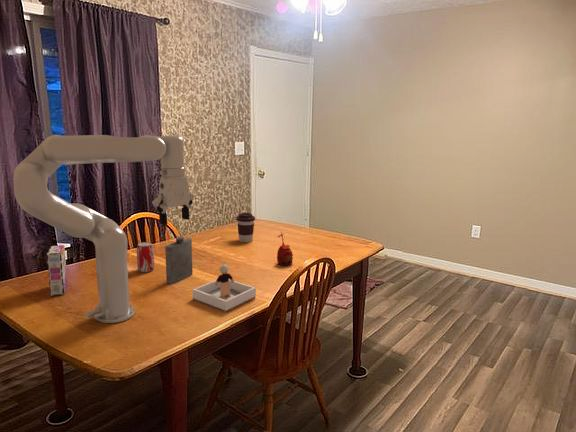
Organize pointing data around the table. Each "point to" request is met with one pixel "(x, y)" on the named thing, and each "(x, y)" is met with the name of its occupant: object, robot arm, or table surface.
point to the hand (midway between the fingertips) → (174, 221)
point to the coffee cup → (245, 227)
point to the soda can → (145, 257)
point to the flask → (178, 260)
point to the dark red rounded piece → (284, 254)
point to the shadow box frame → (238, 293)
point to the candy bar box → (57, 270)
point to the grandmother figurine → (224, 281)
